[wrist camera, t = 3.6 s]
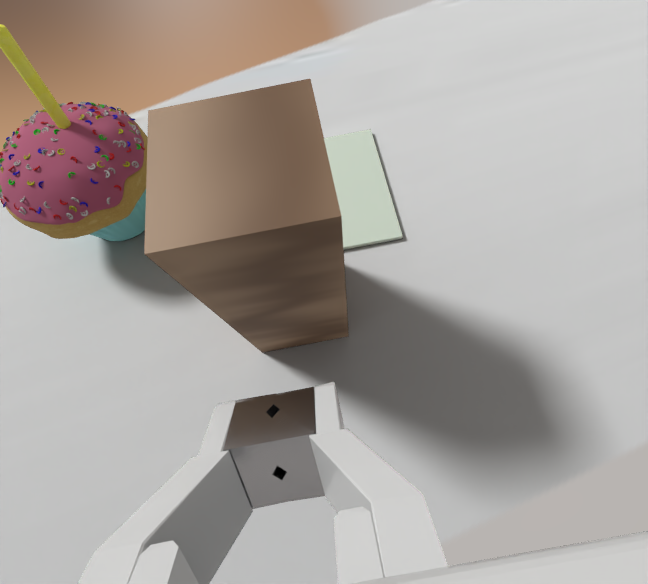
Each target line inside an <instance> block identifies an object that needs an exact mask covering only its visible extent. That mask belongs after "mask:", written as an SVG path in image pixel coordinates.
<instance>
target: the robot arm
mask: <svg viewBox="0 0 648 584" xmlns="http://www.w3.org/2000/svg"><path fill="white" fill-rule="evenodd" d="M320 496H325V497H326V499H327V500H328V502H329V503H330V504H331V506H332V507H333V509H334V510H335V511H336V513H337V515H336V516H335V518H334V533H335V548H336V563H337V578H338V584H648V531H646V532H639V533H633V534H628V535H622V536H617V537H611V538H606V539H600V540H594V541H588V542H583V543H577V544H571V545H566V546H560V547H554V548H548V549H543V550H537V551H531V552H526V553H520V554H514V555H509V556H503V557H497V558H492V559H486V560H480V561H475V562H469V563H463V564H458V565H452V566H448V564H447V561H446V559H445V556H444V553H443V550H442V547H441V544H440V541H439V538H438V535H437V533H436V530H435V527H434V524H433V521H432V518H431V515H430V512H429V510H428V507H427V504H426V501H425V498H424V495H423V494H422V493H421V492H420V491H419V490H418V489H417V488H416V487H414V486H413V485H412V484H411V483H410V482H409V481H407V480H406V479H405V478H404V477H403V476H402V475H401V474H399V473H398V472H397V471H396V470H395V469H394V468H392V467H391V466H390V465H389V464H388V463H387V462H386V461H384V460H383V459H382V458H381V457H380V456H379V455H377V454H376V453H375V452H374V451H373V450H372V449H371V448H369V447H368V446H367V445H366V444H365V443H364V442H362V441H361V440H360V439H359V438H358V437H357V436H355V435H354V434H353V433H352V432H351V431H350V430H349V429H344V424H343V418H342V414H341V409H340V404H339V399H338V394H337V389H336V385H335V383H334V382H330V383H326V384H321V385H316V386H315V387H310V388H305V389H300V390H294V391H289V392H284V393H279V394H271V395H265V396H259V397H253V398H247V399H241V400H238V401H230V402H224V403H219V404H218V405H216V406H215V408H214V411H213V414H212V417H211V419H210V422H209V425H208V428H207V431H206V434H205V437H204V440H203V443H202V446H201V449H200V451H199V454H198V456H195V457H191V458H190V459H189V460H188V461H187V462H186V463H185V464H184V465H183V466H182V467H181V468H180V469H179V470H178V471H177V472H176V473H175V474H174V475H173V476H172V477H171V478H170V479H169V480H168V481H167V482H166V483H165V484H164V485H163V486H162V487H161V488H160V489H159V490H158V491H157V492H155V493H154V494H153V495H152V496H151V497H150V498H149V499H148V500H147V501H146V502H145V503H144V504H143V505H142V506H141V507H140V508H139V509H138V510H137V511H136V512H135V513H134V514H133V515H132V516H131V517H130V518H129V519H128V520H127V521H126V522H125V523H124V524H123V525H122V526H121V527H120V528H118V529H117V530H116V531H115V532H114V533H113V534H112V535H111V536H110V537H109V538H108V539H107V540H106V541H105V542H104V543H103V544H102V545H101V546H100V547H99V548H98V549H97V550H96V551H95V552H94V553H93V555H92V557H91V559H90V561H89V563H88V565H87V567H86V569H85V570H84V572H83V574H82V576H81V578H80V580H79V582H78V584H209V583H210V581H211V580H212V578H213V576H214V575H215V573H216V571H217V570H218V568H219V566H220V565H221V563H222V561H223V560H224V558H225V556H226V555H227V553H228V551H229V550H230V548H231V547H232V545H233V543H234V542H235V540H236V538H237V537H238V535H239V533H240V532H241V530H242V528H243V527H244V525H245V523H246V522H247V520H248V518H249V517H250V515H251V513H252V512H253V511H252V509H255V508H259V507H264V506H269V505H273V504H278V503H283V502H288V501H294V500H301V499H307V498H314V497H320Z"/></svg>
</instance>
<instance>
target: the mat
mask: <svg viewBox="0 0 648 584" xmlns="http://www.w3.org/2000/svg"><path fill="white" fill-rule="evenodd" d="M324 141H325V146H326V150H327V155H328V159H329V163H330V168H331V172H332V177H333V181H334V185H335V190H336V194H337V199H338V203H339V207H340V212H341V217H342V234H343V250H345V249H350V248H355V247H361V246H366V245H371V244H376V243H382V242H387V241H392V240H397V239H402V237H403V236H402V232H401V229H400V226H399V222H398V219H397V215H396V212H395V209H394V205H393V202H392V199H391V195H390V192H389V189H388V185H387V182H386V179H385V175H384V172H383V169H382V165H381V162H380V159H379V155H378V152H377V149H376V145H375V142H374V139H373V135H372V132H371V129H369V130H364V131H359V132H354V133H349V134H344V135H339V136H333V137H328V138H324Z"/></svg>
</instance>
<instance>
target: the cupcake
mask: <svg viewBox="0 0 648 584" xmlns="http://www.w3.org/2000/svg"><path fill="white" fill-rule="evenodd" d="M0 48H1V49H2V51H3V52H4V53H5V55H6V56H7V58H8V59H9V60H10V62H11V63H12V64H13V66H14V67H15V68H16V70H17V71H18V73H19V74H20V75H21V77H22V78H23V79H24V81H25V82H26V84H27V85H28V86H29V88H30V89H31V91H32V92H33V93H34V95H35V96H36V97H37V99H38V100H39V101H40V103H41V104H42V106H43V107H44V108H43V110H42V111H39V112H38V111H36V112H35V113H34V114H33V116H31V117H30V119H28V120H24V121H26V122H25V123H24V124H23V125H22V126H21V127H20V128H18V129H17V131H16V133H15V132H13V137H8V138H6V140H7V142H6V143H5V144H4V146H3V147H4V148H3V150H2V152H0V198H1V199H0V200H1V202H2V204H3V207H5V206H6V208H7V210H8V211H9V213H10V214H11V215H12V216H13V217H14V218H15V219H16V220H18V221H19V222H21V223H22V224H24V225H26V226H28V227H30V228H33V229H35V230H38V231H40V232H43V233H45V234H47V235H49V236H51V237H53V238H58V239H63V238H75V237H80V236H84V235H88V234H90V235H94V236H97V237H100V238H102V239H105V240H109V241H123V240H128V239H131V238H133V237H135V236H137V235H139V234H140V233H142V232H143V231H144V230H145V210H146V176H147V142H148V137H147V136H146V135H145V133H144V132H143V131H142V129H141V128H140V127H139V126H138V124H137V123H136V122H135V121H134V120H135V119H132V118H131V117H129V116H128V115H127V113H126V112H124V111H123V110H121V109H120V108H119V107H117V111H116V109H115V108H113V107H110V108H108V106H107V105H105V104H102V105H100V104H98V105H95V104H94V103H91V102H87V103H86V102H80V103H79V104H73V102H70V103H68V104H67V105H66V104H64V103H62V104H60V105H59V104H58V103H57V102H56V100H55V99H54V97H53V96H52V94H51V93H50V91H49V90H48V88H47V87H46V85H45V84H44V82H43V81H42V80H41V78H40V77H39V75H38V74H37V72H36V71H35V69H34V68H33V66H32V65H31V63H30V62H29V60H28V59H27V58H26V56H25V55H24V53H23V52H22V50H21V49H20V47H19V46H18V44H17V43H16V41H15V40H14V38H13V37H12V35H11V34H10V33H9V31H8V30H7V28H6V27H5V26H4V25H1V24H0ZM105 106H106V107H105Z"/></svg>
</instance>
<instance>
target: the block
mask: <svg viewBox="0 0 648 584" xmlns="http://www.w3.org/2000/svg"><path fill="white" fill-rule="evenodd" d="M144 254H145V255H146V256H147V257H148V258H149V259H151V260H152V261H153V262H154V263H155V264H157V265H158V266H159V267H160V268H161V269H163V270H164V271H165V272H166V273H167V274H169V275H170V276H171V277H172V278H174V279H175V280H176V281H177V282H178V283H180V284H181V285H182V286H183V287H184V288H186V289H187V290H188V291H189V292H190V293H192V294H193V295H194V296H195V297H196V298H198V299H199V300H200V301H201V302H202V303H204V304H205V305H206V306H207V307H208V308H210V309H211V310H212V311H213V312H214V313H216V314H217V315H218V316H219V317H220V318H222V319H223V320H224V321H225V322H226V323H228V324H229V325H230V326H231V327H232V328H234V329H235V330H236V331H237V332H238V333H240V334H241V335H242V336H243V337H244V338H246V339H247V340H248V341H249V342H250V343H252V344H253V345H254V346H255V347H256V348H258V349H259V350H260V351H261V352H262V353H263V352H268V351H273V350H279V349H284V348H289V347H294V346H300V345H305V344H310V343H316V342H321V341H326V340H332V339H337V338H342V337H347V336H349V334H348V318H347V301H346V284H345V267H344V250H343V234H342V217H341V212H340V207H339V203H338V199H337V194H336V190H335V185H334V181H333V177H332V172H331V168H330V163H329V159H328V155H327V150H326V146H325V141H324V137H323V133H322V128H321V124H320V119H319V115H318V111H317V106H316V102H315V97H314V93H313V89H312V84H311V80H310V79H306V80H301V81H296V82H291V83H286V84H281V85H276V86H271V87H266V88H260V89H255V90H250V91H245V92H240V93H235V94H230V95H225V96H220V97H215V98H210V99H205V100H200V101H195V102H190V103H185V104H180V105H175V106H170V107H164V108H159V109H154V110H149V111H148V142H147V176H146V210H145V244H144Z"/></svg>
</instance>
